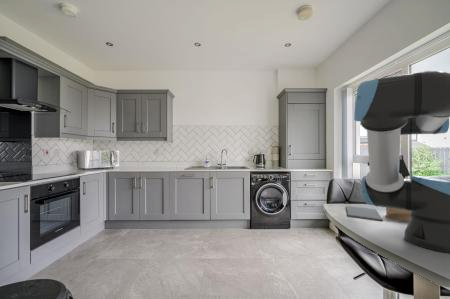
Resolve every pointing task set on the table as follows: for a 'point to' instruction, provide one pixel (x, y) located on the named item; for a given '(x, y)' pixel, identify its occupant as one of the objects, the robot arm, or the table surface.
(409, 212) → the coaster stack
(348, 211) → the mat
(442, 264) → the table surface
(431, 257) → the table surface
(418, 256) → the table surface
